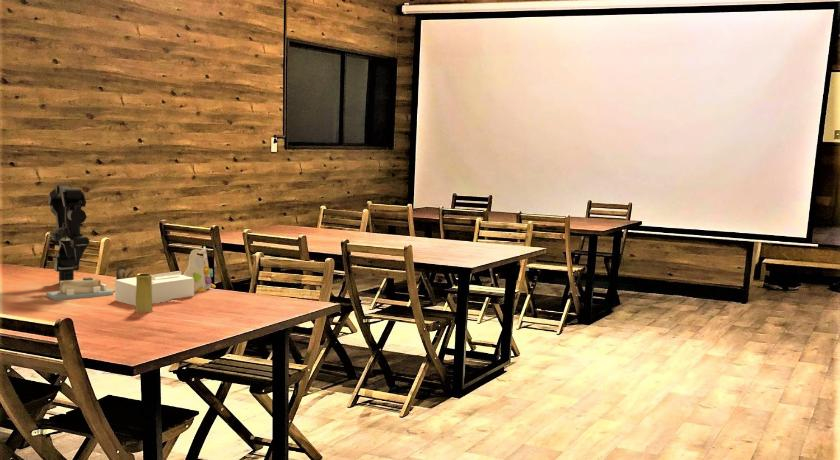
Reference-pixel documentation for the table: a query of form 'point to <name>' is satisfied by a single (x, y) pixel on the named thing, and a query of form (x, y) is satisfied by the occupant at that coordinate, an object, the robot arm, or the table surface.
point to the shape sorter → (199, 270)
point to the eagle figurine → (122, 273)
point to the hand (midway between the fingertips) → (73, 259)
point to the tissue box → (156, 288)
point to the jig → (72, 295)
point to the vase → (143, 293)
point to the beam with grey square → (80, 285)
